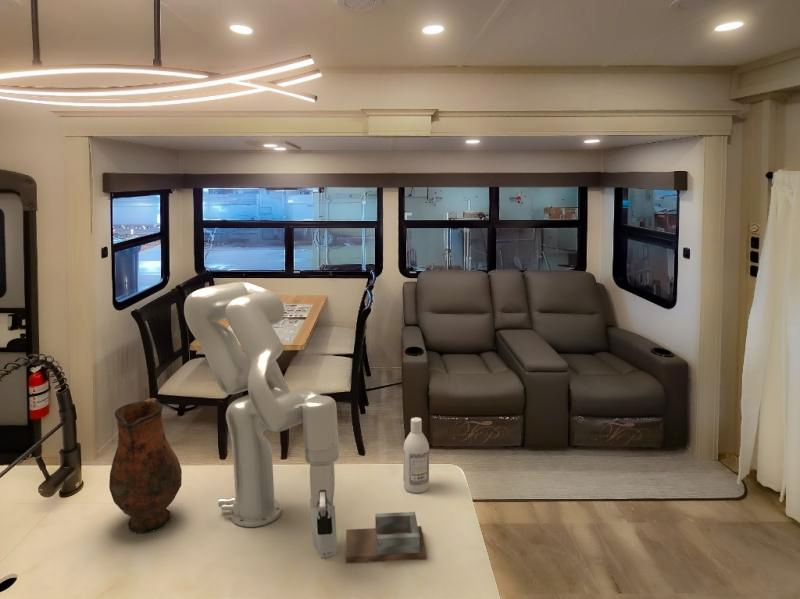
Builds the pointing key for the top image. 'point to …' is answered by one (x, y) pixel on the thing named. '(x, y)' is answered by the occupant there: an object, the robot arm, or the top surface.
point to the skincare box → (327, 542)
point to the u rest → (387, 540)
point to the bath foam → (416, 459)
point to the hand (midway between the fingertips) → (325, 522)
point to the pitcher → (144, 467)
